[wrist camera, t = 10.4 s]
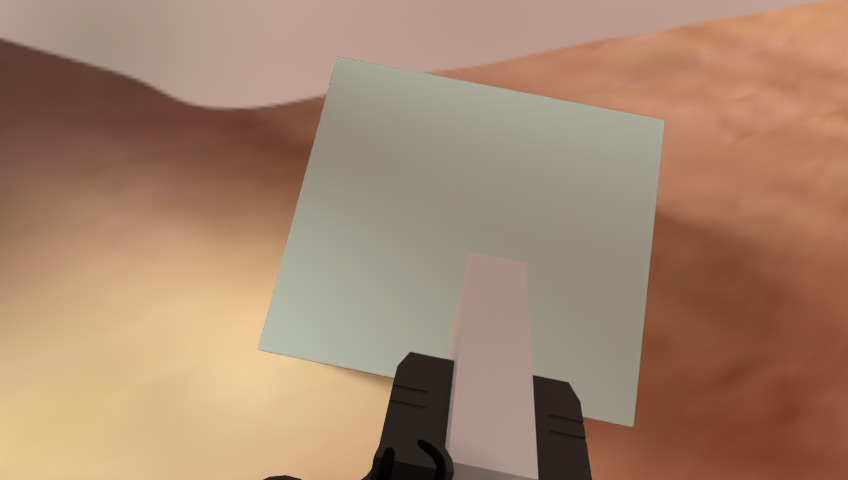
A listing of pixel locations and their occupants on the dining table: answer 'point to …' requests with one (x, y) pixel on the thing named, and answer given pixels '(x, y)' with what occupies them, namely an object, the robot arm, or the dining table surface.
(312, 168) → the lid
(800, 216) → the dining table surface
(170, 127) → the dining table surface
